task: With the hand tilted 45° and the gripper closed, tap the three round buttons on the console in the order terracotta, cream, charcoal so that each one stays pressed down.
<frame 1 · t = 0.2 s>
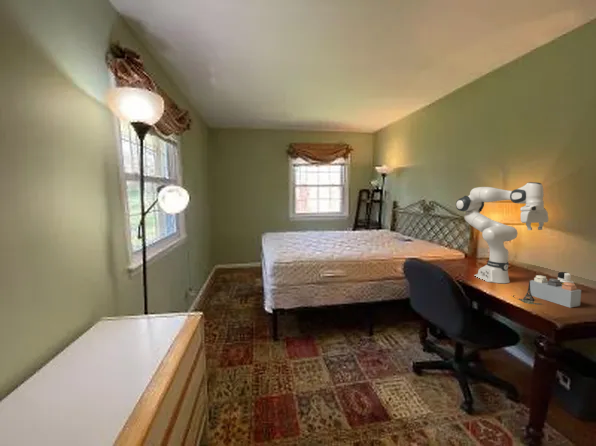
hand: (535, 230, 190), 39 cm above the table, tool pointing down, fingers open, 8 cm apart
button terracotta: (568, 290, 170), point 8 cm above the table, slide at 0.0 cm
button cream: (540, 282, 184), point 8 cm above the table, slide at 0.0 cm
button console: (553, 300, 178), on the table
button charcoal: (554, 286, 177), point 8 cm above the table, slide at 0.0 cm
eiffel tower figurine: (527, 300, 179), on the table
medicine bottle: (563, 291, 193), on the table
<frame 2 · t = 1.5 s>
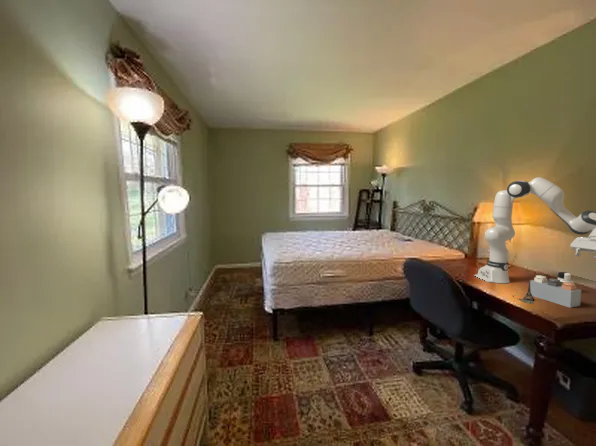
hand: (586, 256, 172), 26 cm above the table, tool tilted 45°, fingers open, 7 cm apart
nothing on the table moved.
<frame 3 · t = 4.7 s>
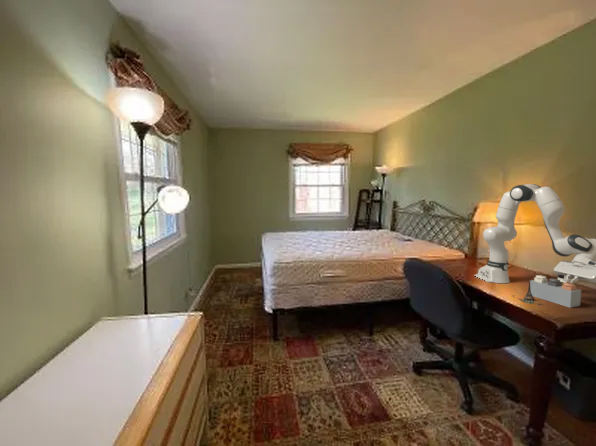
hand: (568, 282, 169), 13 cm above the table, tool tilted 45°, fingers closed, pressing on button terracotta
button terracotta: (568, 290, 170), point 8 cm above the table, slide at 0.3 cm, touching gripper
everything else where it was.
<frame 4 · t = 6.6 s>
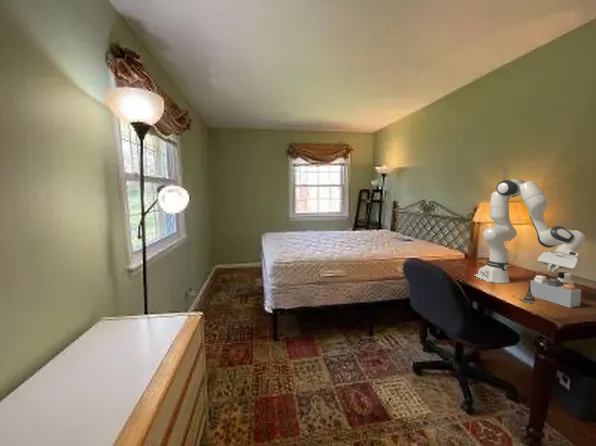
hand: (550, 271, 178), 16 cm above the table, tool tilted 45°, fingers closed
button terracotta: (568, 292, 170), point 7 cm above the table, slide at 1.3 cm
everything else where it was.
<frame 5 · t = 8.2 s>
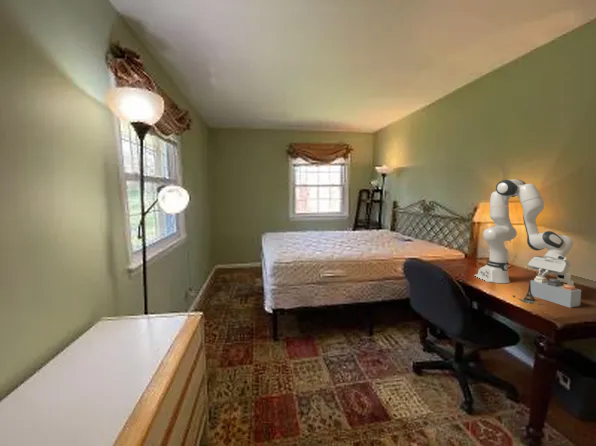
hand: (540, 276, 183), 12 cm above the table, tool tilted 45°, fingers closed, pressing on button cream
button cream: (540, 283, 184), point 8 cm above the table, slide at 0.4 cm, touching gripper
everything else where it was.
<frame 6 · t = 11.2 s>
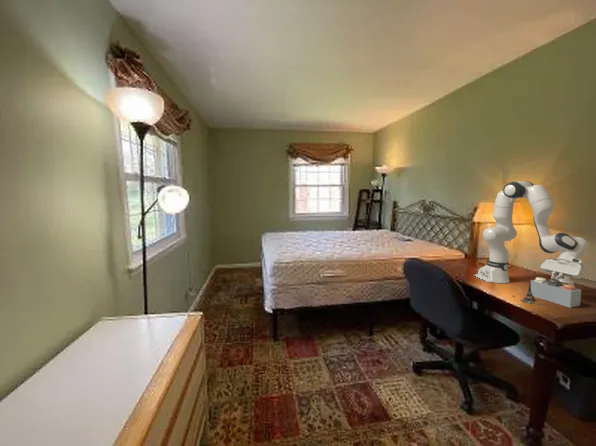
hand: (554, 279, 176), 12 cm above the table, tool tilted 45°, fingers closed, pressing on button charcoal
button cream: (540, 284, 184), point 7 cm above the table, slide at 1.3 cm
button charcoal: (554, 286, 177), point 8 cm above the table, slide at 0.4 cm, touching gripper
everything else where it was.
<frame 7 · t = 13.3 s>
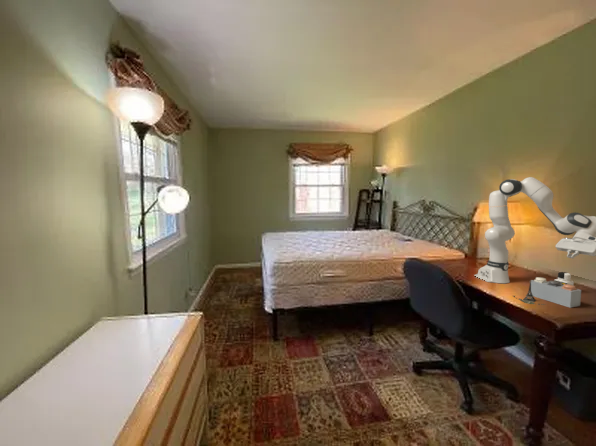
hand: (569, 257, 179), 24 cm above the table, tool tilted 45°, fingers closed
button charcoal: (554, 288, 177), point 7 cm above the table, slide at 1.3 cm
everything else where it was.
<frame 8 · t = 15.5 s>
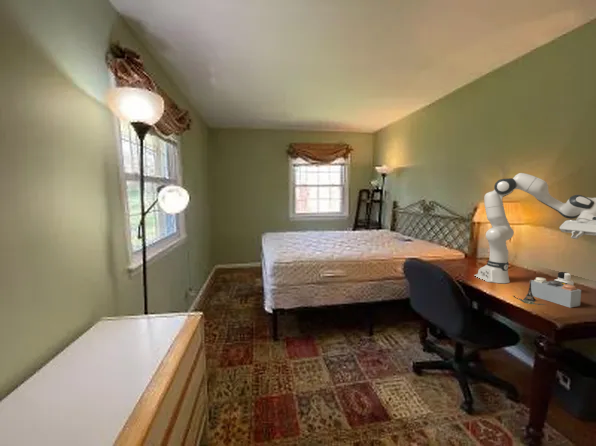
hand: (574, 238, 181), 35 cm above the table, tool tilted 45°, fingers closed
nothing on the table moved.
at the end: button terracotta slide at 1.3 cm; button cream slide at 1.3 cm; button charcoal slide at 1.3 cm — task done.
